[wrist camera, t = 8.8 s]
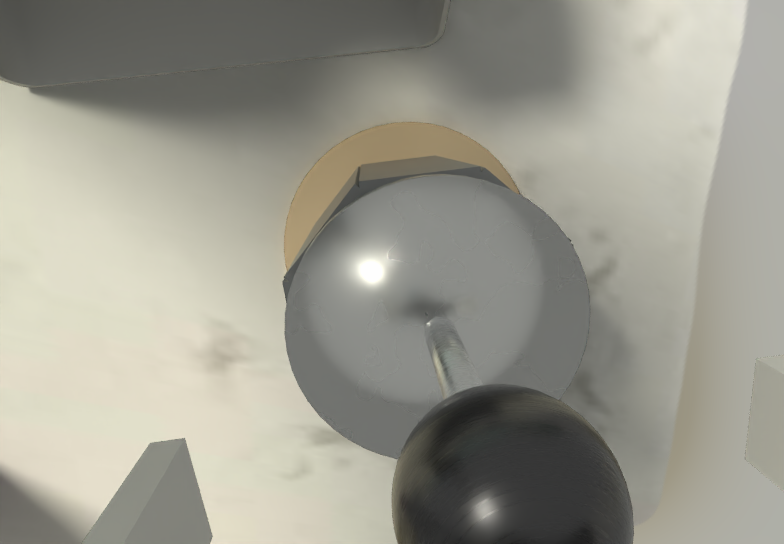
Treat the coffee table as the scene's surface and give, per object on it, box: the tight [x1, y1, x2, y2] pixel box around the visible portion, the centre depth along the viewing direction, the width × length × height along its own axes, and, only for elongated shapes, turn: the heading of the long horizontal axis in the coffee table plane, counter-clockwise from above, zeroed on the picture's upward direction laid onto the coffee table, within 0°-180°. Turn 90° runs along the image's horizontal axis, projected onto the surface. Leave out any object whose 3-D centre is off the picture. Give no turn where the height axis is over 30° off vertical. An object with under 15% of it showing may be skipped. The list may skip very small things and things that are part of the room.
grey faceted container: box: [283, 122, 573, 303], centre depth 26 cm, size 17×16×13 cm
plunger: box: [285, 174, 634, 544], centre depth 18 cm, size 12×12×23 cm
